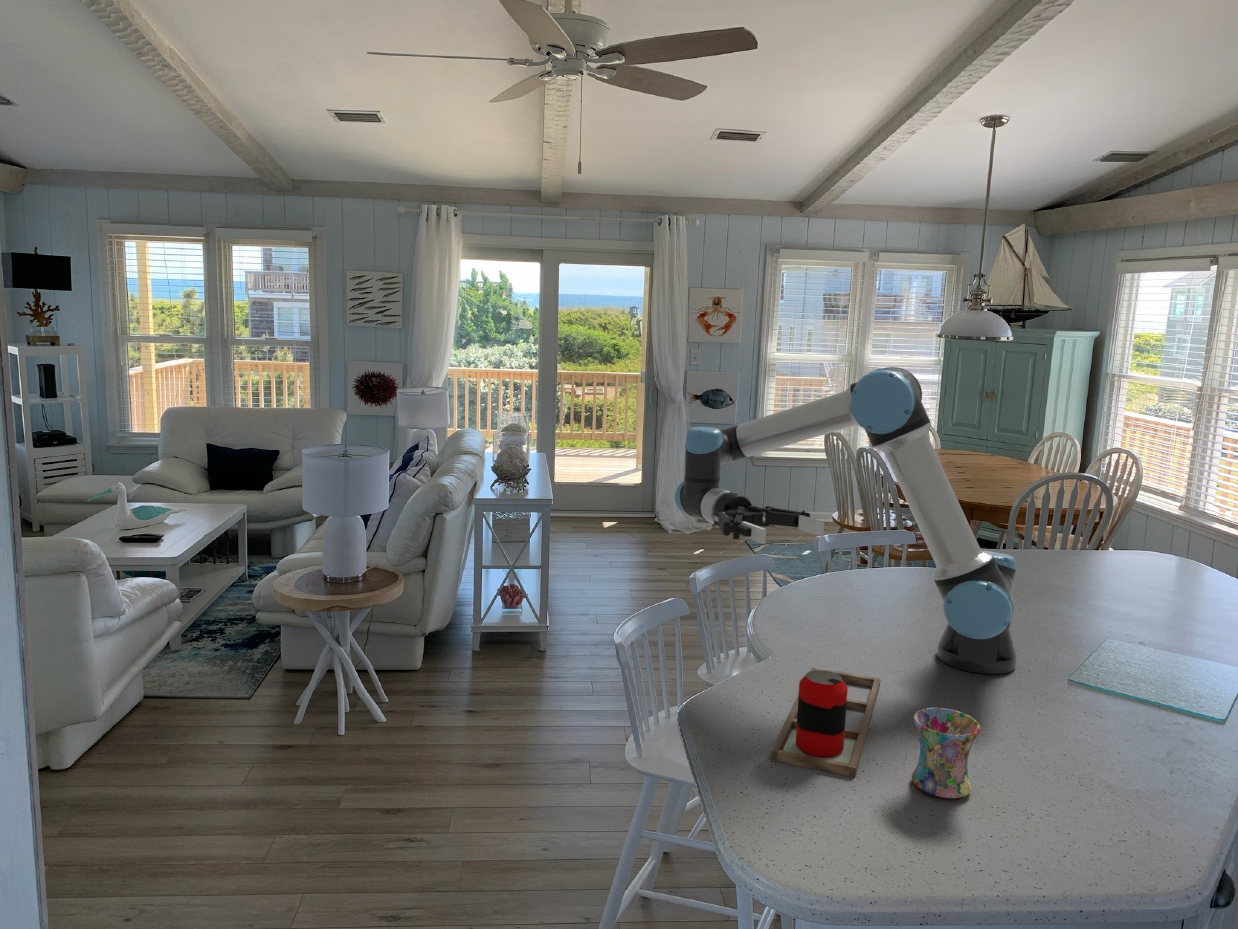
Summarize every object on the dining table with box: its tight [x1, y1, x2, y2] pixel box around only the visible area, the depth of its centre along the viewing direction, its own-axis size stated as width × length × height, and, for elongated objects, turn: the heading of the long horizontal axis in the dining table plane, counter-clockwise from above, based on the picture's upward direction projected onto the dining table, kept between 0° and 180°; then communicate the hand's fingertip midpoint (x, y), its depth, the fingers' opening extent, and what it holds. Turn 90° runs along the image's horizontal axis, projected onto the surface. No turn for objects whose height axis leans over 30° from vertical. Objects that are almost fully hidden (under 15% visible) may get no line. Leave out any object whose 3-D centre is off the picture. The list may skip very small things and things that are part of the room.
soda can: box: [796, 669, 849, 758], centre depth 141 cm, size 8×8×12 cm
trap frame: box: [770, 667, 881, 778], centre depth 153 cm, size 13×37×2 cm, turn 158°
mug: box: [911, 707, 981, 799], centre depth 130 cm, size 12×9×11 cm
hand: (794, 533), depth 161 cm, fingers open, 13 cm apart
